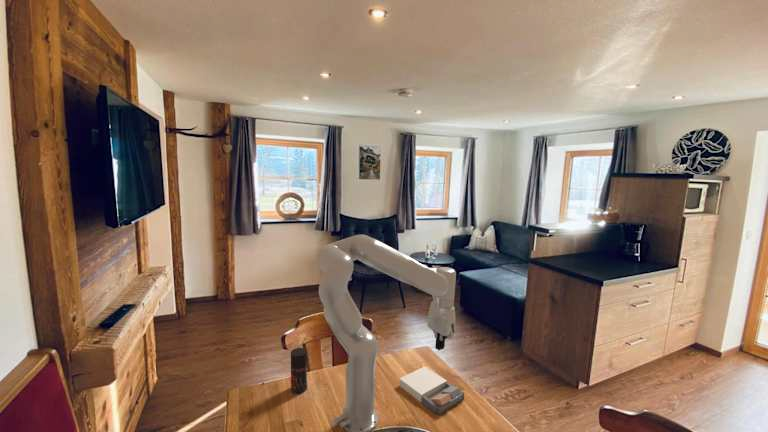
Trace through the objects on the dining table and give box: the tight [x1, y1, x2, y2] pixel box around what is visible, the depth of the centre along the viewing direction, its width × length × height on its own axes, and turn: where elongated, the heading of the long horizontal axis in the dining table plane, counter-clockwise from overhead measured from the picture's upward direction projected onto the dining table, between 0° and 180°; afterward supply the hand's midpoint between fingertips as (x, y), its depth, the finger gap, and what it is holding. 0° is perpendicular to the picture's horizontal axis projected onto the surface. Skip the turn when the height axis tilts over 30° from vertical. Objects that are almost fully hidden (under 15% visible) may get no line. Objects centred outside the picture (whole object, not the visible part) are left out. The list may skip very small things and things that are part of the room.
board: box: [398, 365, 448, 403], centre depth 132 cm, size 14×12×3 cm
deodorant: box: [290, 347, 308, 395], centre depth 127 cm, size 6×6×15 cm
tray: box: [421, 381, 465, 416], centre depth 124 cm, size 14×8×2 cm, turn 129°
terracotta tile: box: [431, 394, 451, 405], centre depth 121 cm, size 5×5×2 cm
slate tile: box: [441, 385, 462, 398], centre depth 125 cm, size 5×5×2 cm
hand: (439, 348), depth 126 cm, fingers closed
